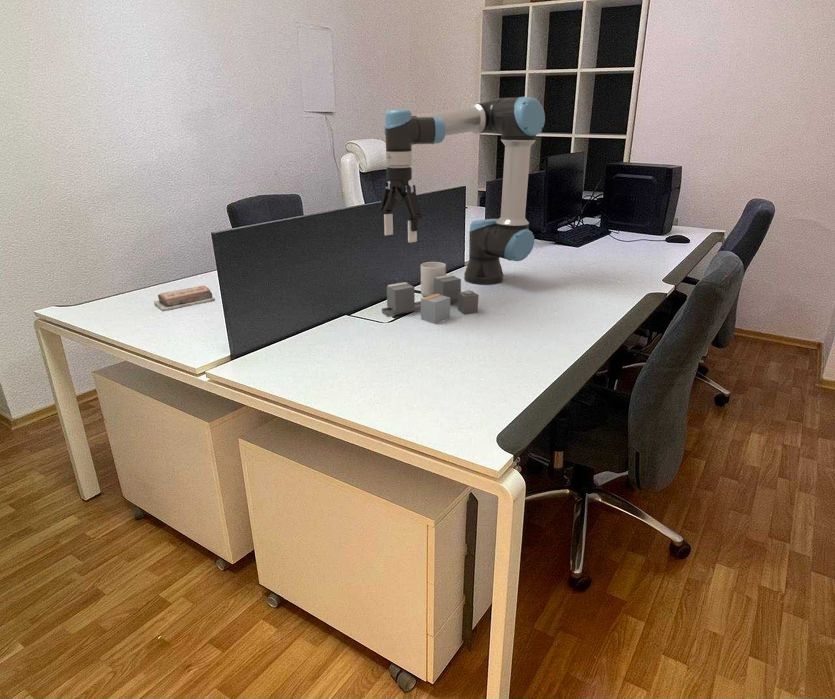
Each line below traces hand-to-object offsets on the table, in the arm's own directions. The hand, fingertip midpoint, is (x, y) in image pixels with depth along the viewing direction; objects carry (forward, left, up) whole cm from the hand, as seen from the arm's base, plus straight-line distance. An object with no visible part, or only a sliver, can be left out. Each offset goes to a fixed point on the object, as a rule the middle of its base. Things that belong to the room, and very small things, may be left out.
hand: (400, 238), depth 174 cm
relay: (-19, +10, -25) cm, 33 cm away
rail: (-9, -1, -24) cm, 26 cm away
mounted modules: (-9, -1, -23) cm, 25 cm away
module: (-6, +11, -25) cm, 28 cm away
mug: (-19, -13, -25) cm, 34 cm away
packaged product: (+60, -50, -25) cm, 81 cm away
